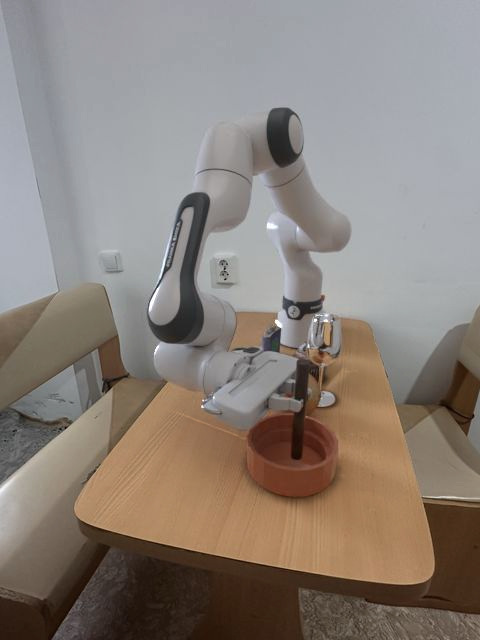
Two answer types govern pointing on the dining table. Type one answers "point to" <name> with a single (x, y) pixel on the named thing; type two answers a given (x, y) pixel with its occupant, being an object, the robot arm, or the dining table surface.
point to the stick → (300, 416)
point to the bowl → (275, 456)
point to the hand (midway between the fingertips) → (306, 400)
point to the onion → (315, 398)
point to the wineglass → (324, 347)
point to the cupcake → (314, 369)
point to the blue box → (272, 339)
